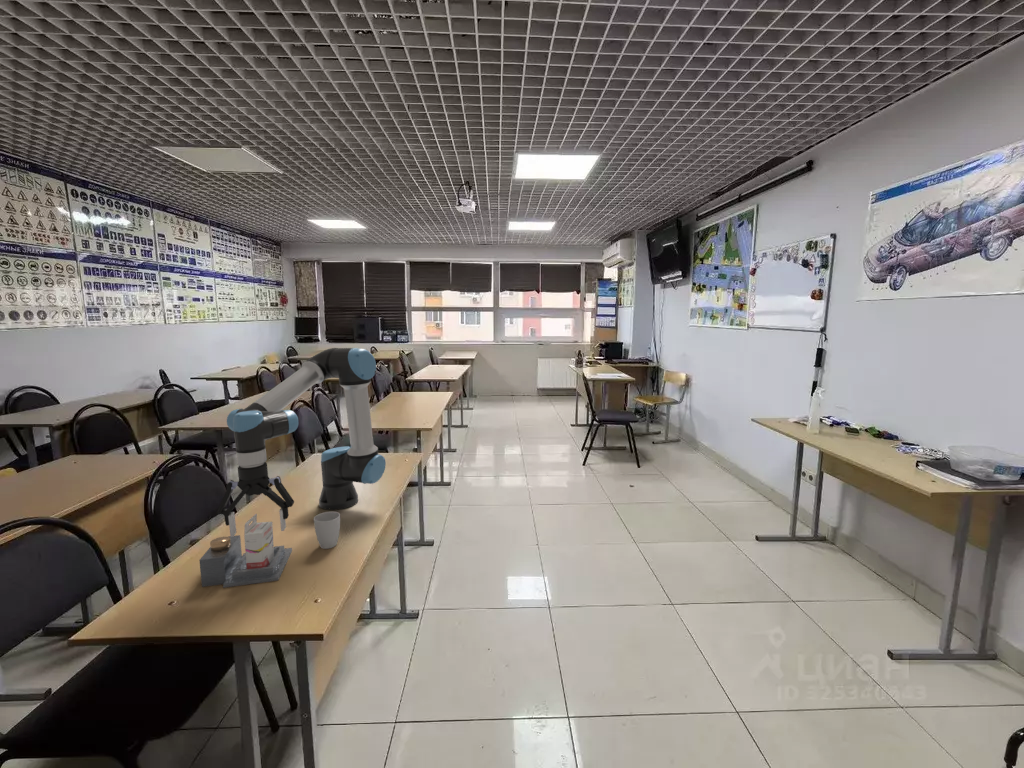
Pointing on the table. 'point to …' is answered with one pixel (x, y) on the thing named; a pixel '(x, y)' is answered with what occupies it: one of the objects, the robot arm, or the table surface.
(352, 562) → the table surface
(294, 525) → the table surface
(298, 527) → the table surface
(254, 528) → the ink cartridge box
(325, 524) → the cup
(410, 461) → the table surface
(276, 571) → the grey stepped base
